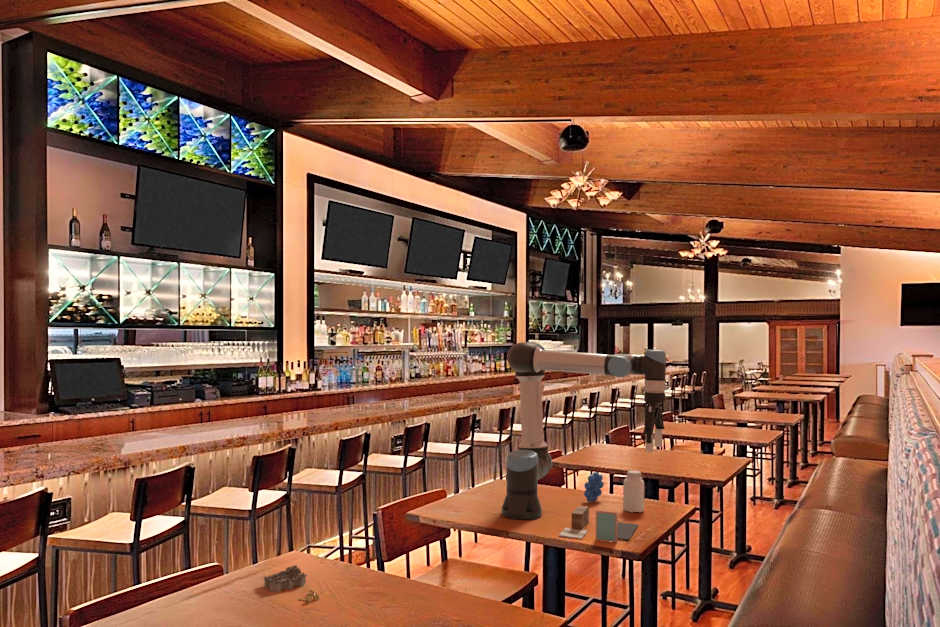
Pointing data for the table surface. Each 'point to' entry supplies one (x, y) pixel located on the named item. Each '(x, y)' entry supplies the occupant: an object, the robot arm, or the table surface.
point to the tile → (606, 525)
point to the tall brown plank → (577, 523)
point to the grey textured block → (285, 579)
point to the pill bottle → (633, 492)
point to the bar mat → (626, 530)
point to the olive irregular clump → (309, 596)
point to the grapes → (593, 487)
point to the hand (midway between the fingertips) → (653, 449)
